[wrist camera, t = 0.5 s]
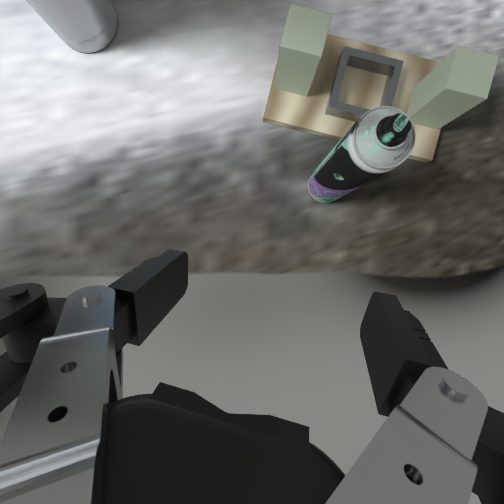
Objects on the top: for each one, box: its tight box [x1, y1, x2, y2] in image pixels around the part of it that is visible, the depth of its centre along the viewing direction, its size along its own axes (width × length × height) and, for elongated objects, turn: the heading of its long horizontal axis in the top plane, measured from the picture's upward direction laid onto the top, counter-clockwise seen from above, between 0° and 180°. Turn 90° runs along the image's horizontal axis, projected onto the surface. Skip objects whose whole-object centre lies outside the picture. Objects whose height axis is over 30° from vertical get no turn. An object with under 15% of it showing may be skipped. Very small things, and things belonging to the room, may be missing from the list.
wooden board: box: [263, 34, 441, 163], centre depth 38 cm, size 26×14×1 cm, turn 76°
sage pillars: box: [274, 3, 499, 130], centre depth 33 cm, size 25×5×8 cm, turn 76°
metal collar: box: [325, 46, 404, 122], centre depth 36 cm, size 9×9×2 cm
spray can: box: [308, 106, 416, 203], centre depth 29 cm, size 6×6×20 cm
